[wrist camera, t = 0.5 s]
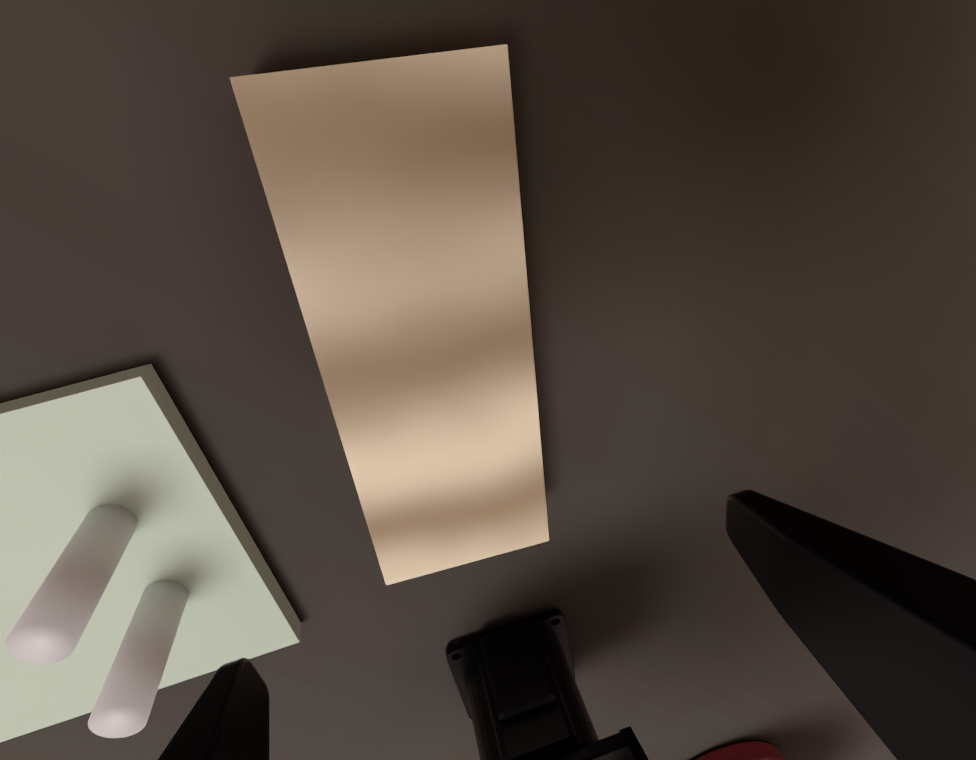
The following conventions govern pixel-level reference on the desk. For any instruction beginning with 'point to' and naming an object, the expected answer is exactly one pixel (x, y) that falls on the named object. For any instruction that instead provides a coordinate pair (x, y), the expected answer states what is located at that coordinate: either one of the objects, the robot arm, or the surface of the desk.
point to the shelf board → (412, 291)
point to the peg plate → (169, 544)
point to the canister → (745, 752)
